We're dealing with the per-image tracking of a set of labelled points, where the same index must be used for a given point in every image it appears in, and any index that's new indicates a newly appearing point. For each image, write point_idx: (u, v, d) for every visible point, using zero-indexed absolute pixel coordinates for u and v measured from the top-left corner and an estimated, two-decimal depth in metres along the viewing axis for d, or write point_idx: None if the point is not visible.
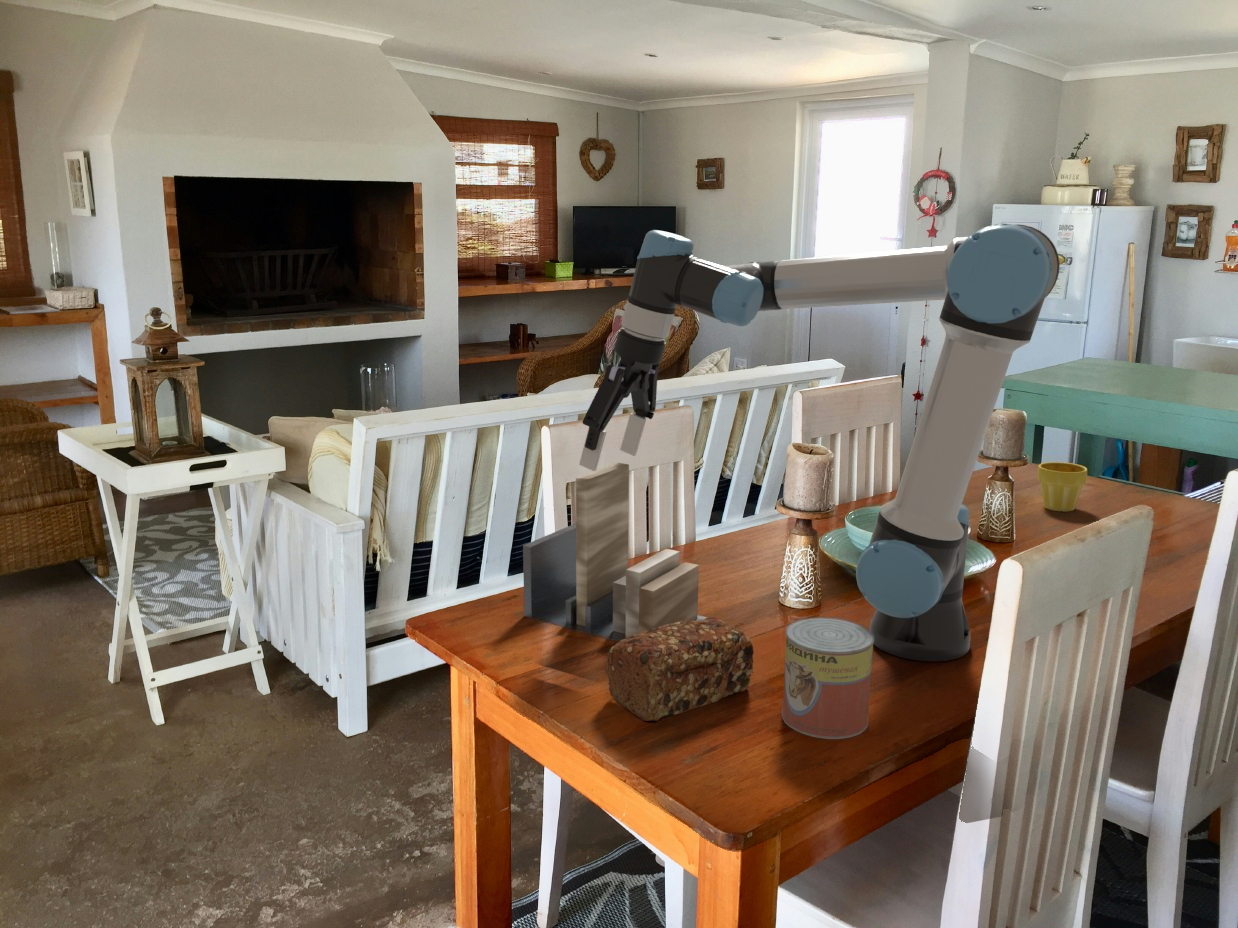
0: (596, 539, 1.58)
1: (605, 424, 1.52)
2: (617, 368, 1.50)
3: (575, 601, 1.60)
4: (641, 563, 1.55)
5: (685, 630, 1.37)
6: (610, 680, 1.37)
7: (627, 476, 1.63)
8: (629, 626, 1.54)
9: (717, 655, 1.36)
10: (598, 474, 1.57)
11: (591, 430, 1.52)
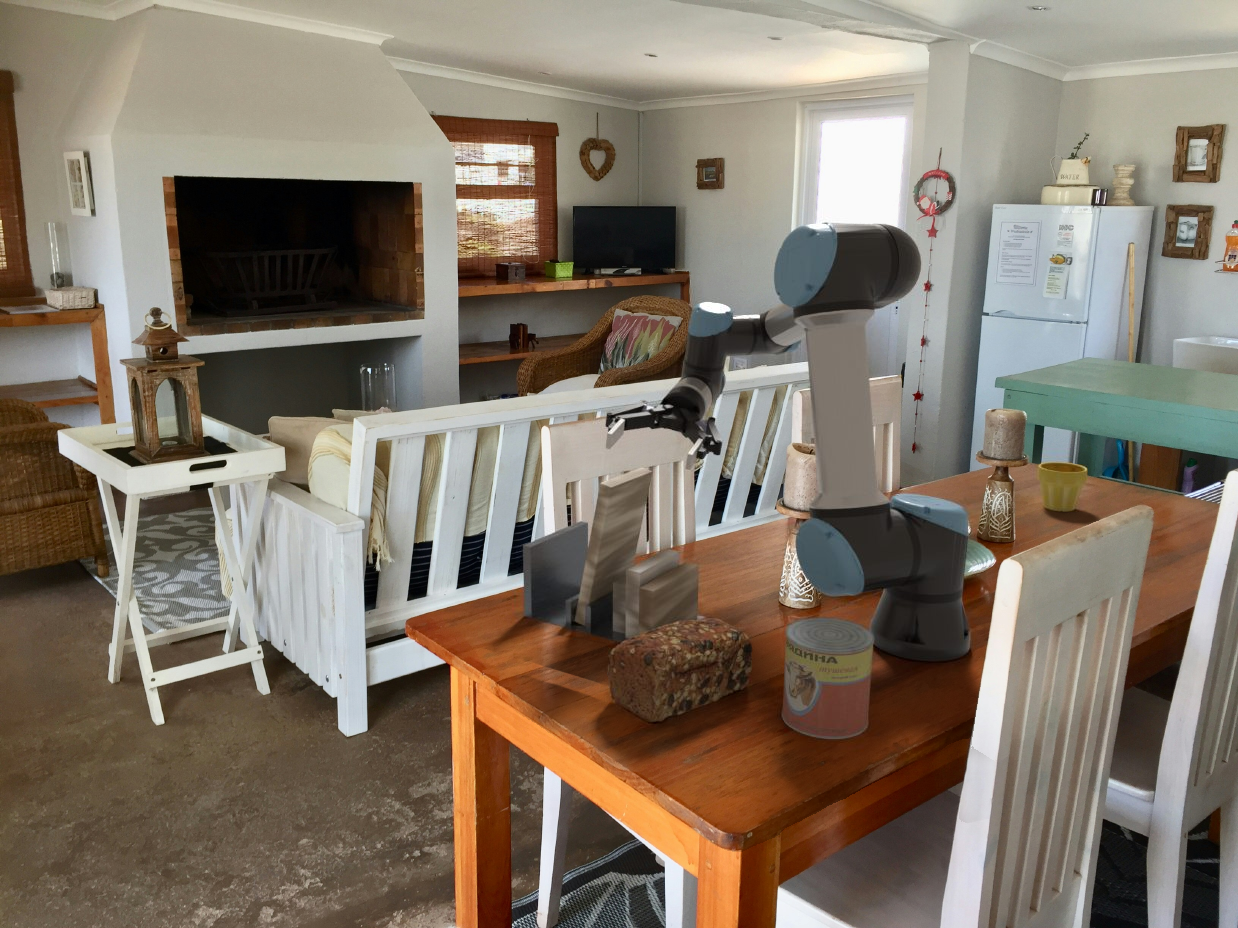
0: (609, 543, 1.57)
1: (623, 416, 1.69)
2: None
3: (575, 601, 1.60)
4: (641, 563, 1.55)
5: (685, 630, 1.37)
6: (611, 682, 1.37)
7: (648, 482, 1.61)
8: (629, 626, 1.54)
9: (718, 654, 1.36)
10: (622, 481, 1.54)
11: None
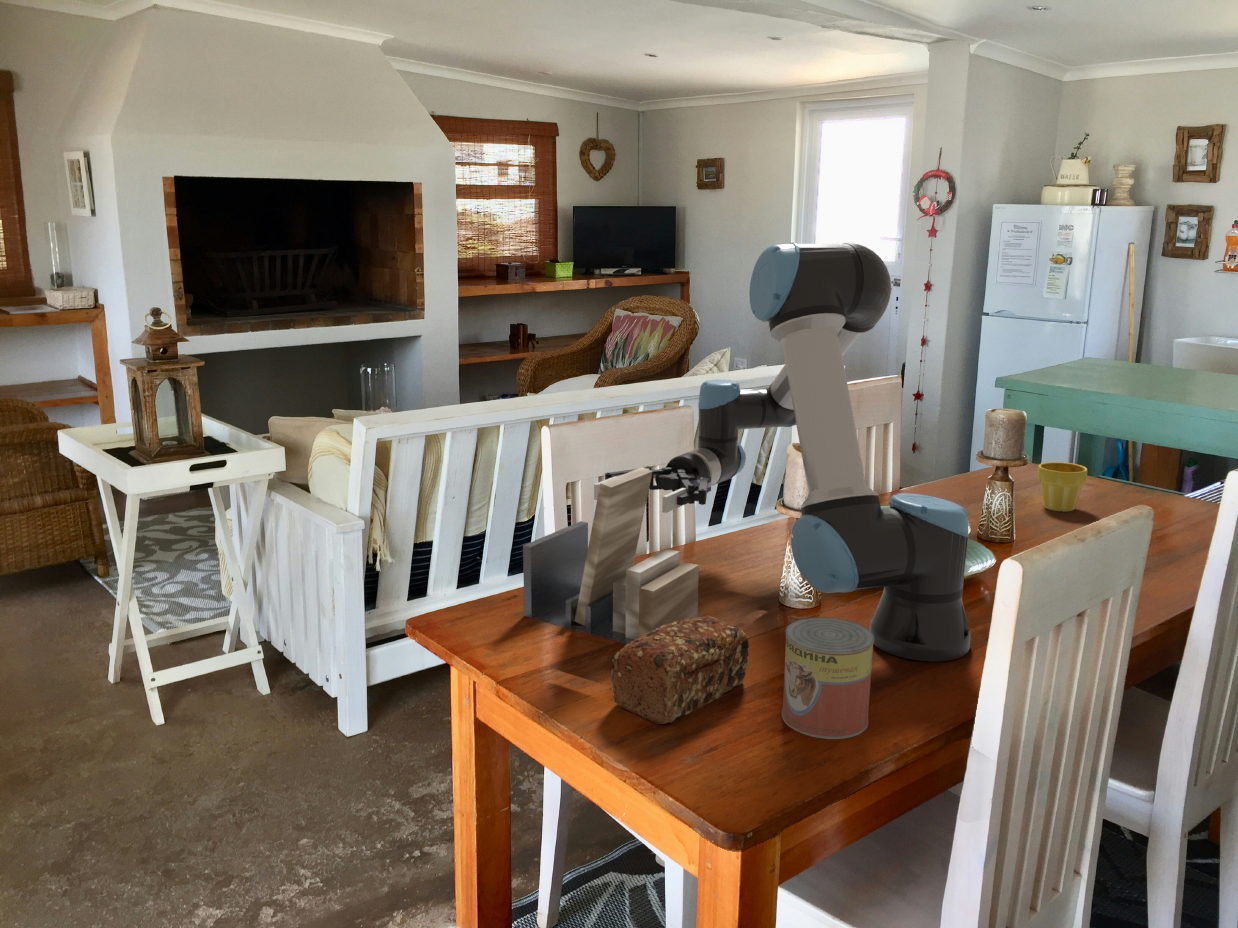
0: (609, 543, 1.57)
1: (618, 475, 1.77)
2: None
3: (575, 601, 1.60)
4: (641, 563, 1.55)
5: (686, 630, 1.38)
6: (615, 687, 1.36)
7: (648, 482, 1.61)
8: (629, 626, 1.54)
9: (721, 652, 1.37)
10: (622, 481, 1.54)
11: None
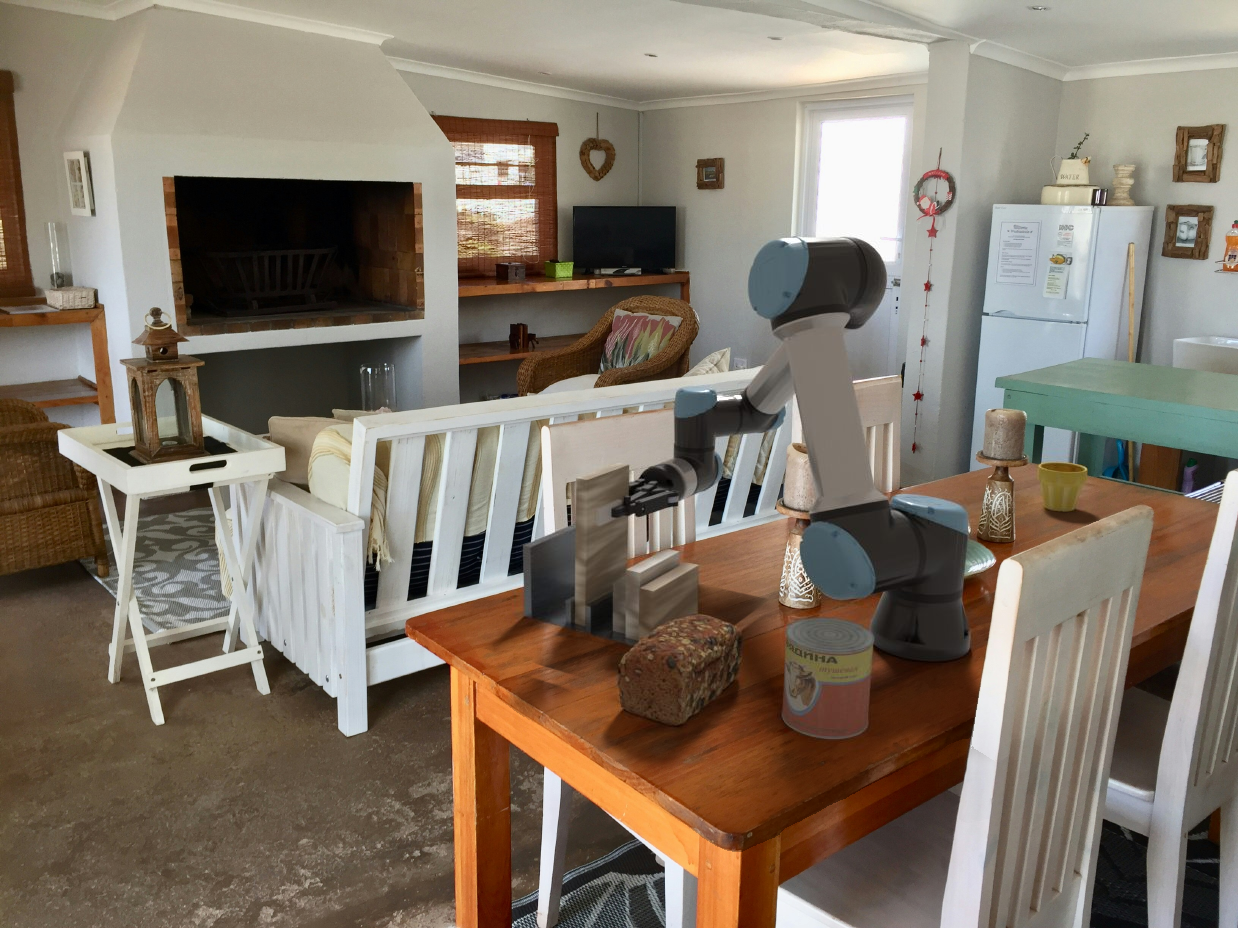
0: (595, 539, 1.58)
1: None
2: None
3: None
4: (641, 563, 1.55)
5: (687, 630, 1.38)
6: (622, 692, 1.34)
7: (627, 476, 1.63)
8: (629, 626, 1.54)
9: (722, 649, 1.38)
10: (598, 474, 1.57)
11: None
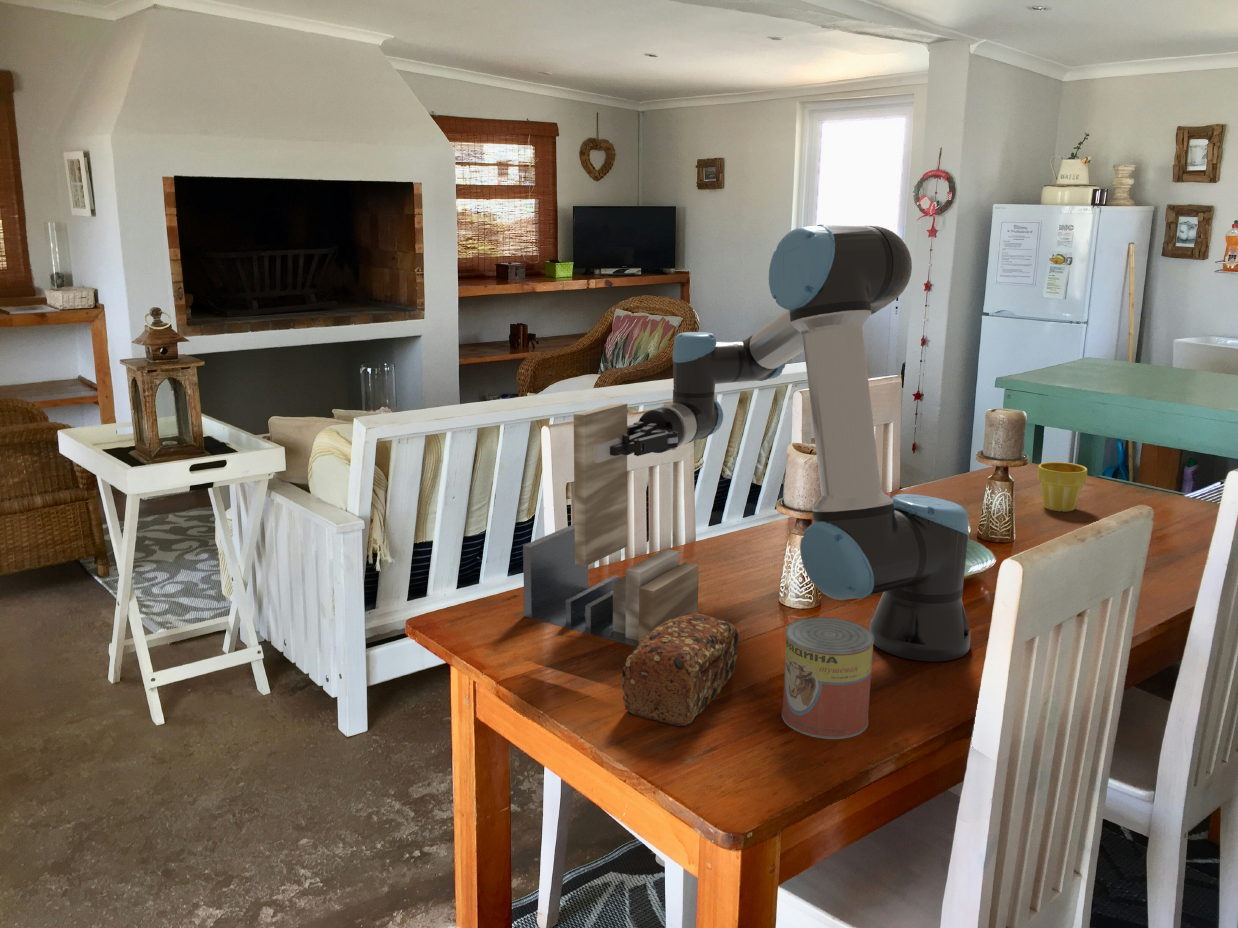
0: (594, 477, 1.56)
1: None
2: None
3: (575, 601, 1.60)
4: (641, 563, 1.55)
5: (687, 629, 1.38)
6: (627, 695, 1.33)
7: (625, 415, 1.61)
8: (629, 626, 1.54)
9: (723, 647, 1.38)
10: (596, 411, 1.55)
11: None
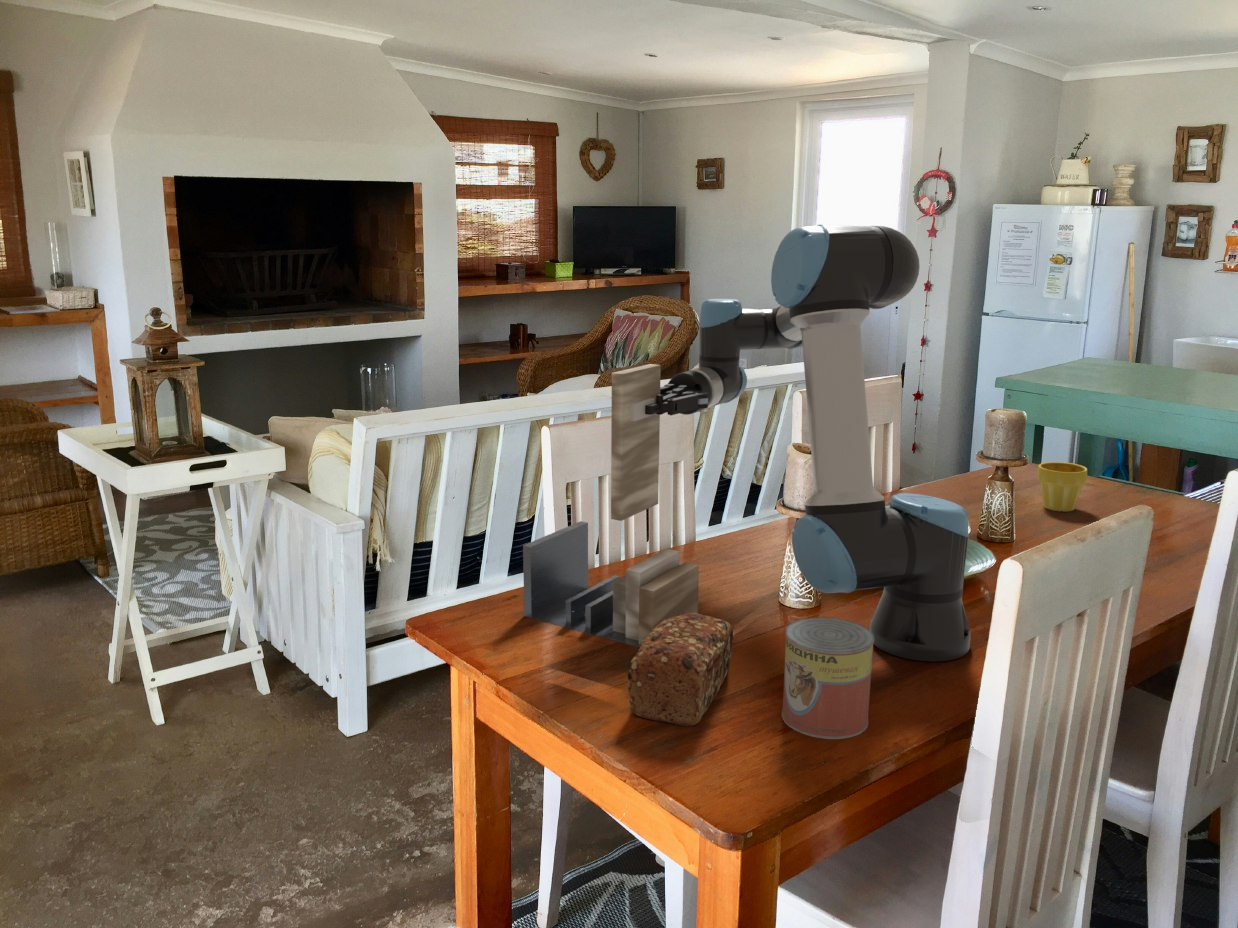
0: (630, 434, 1.62)
1: None
2: None
3: (575, 601, 1.60)
4: (641, 563, 1.55)
5: (688, 629, 1.38)
6: (633, 697, 1.33)
7: (659, 376, 1.67)
8: (629, 626, 1.54)
9: (723, 645, 1.39)
10: (633, 371, 1.61)
11: None
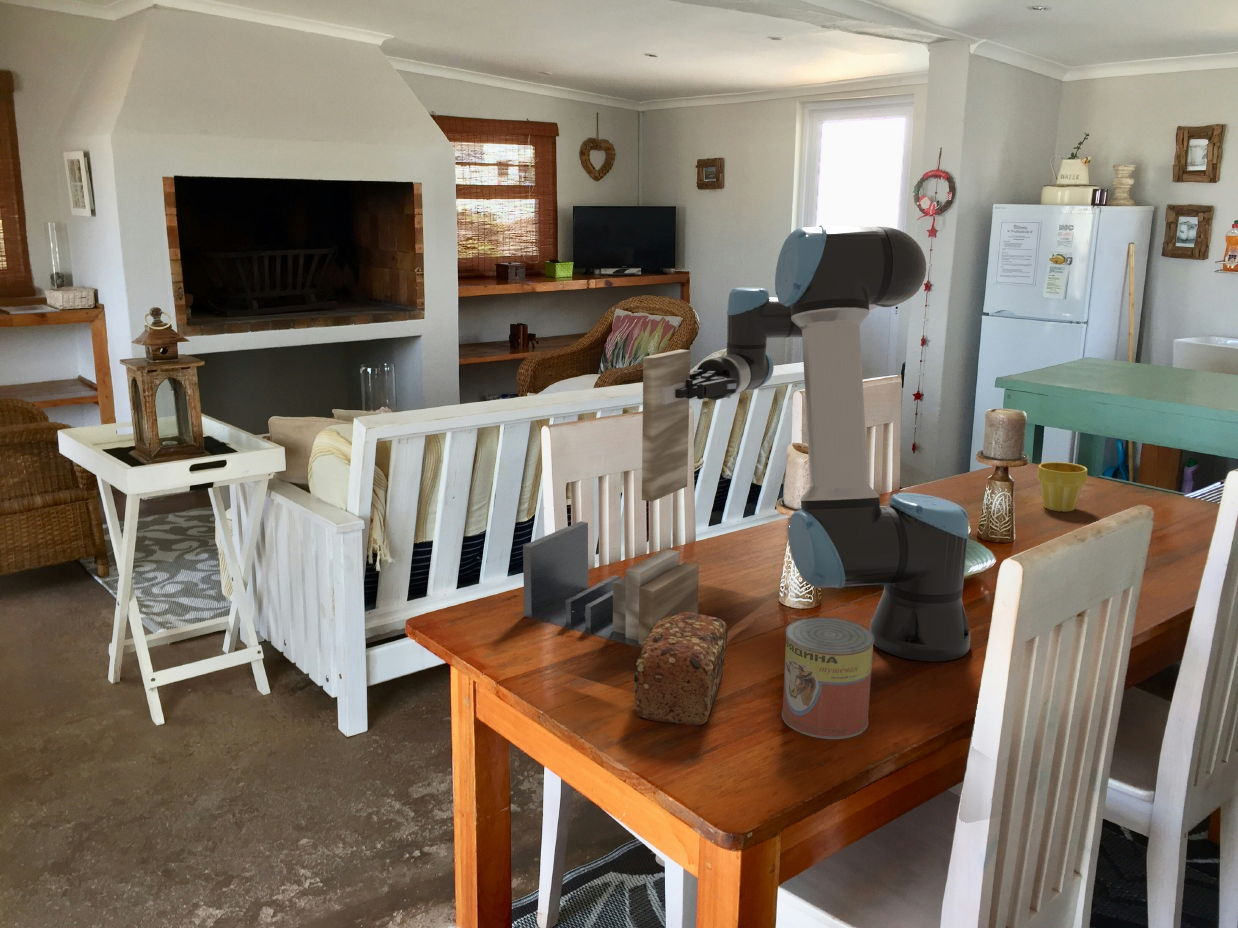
0: (661, 417, 1.66)
1: None
2: None
3: (575, 601, 1.60)
4: (641, 563, 1.55)
5: (688, 629, 1.38)
6: (640, 700, 1.32)
7: (688, 362, 1.72)
8: (629, 626, 1.54)
9: (722, 643, 1.39)
10: (663, 355, 1.65)
11: None
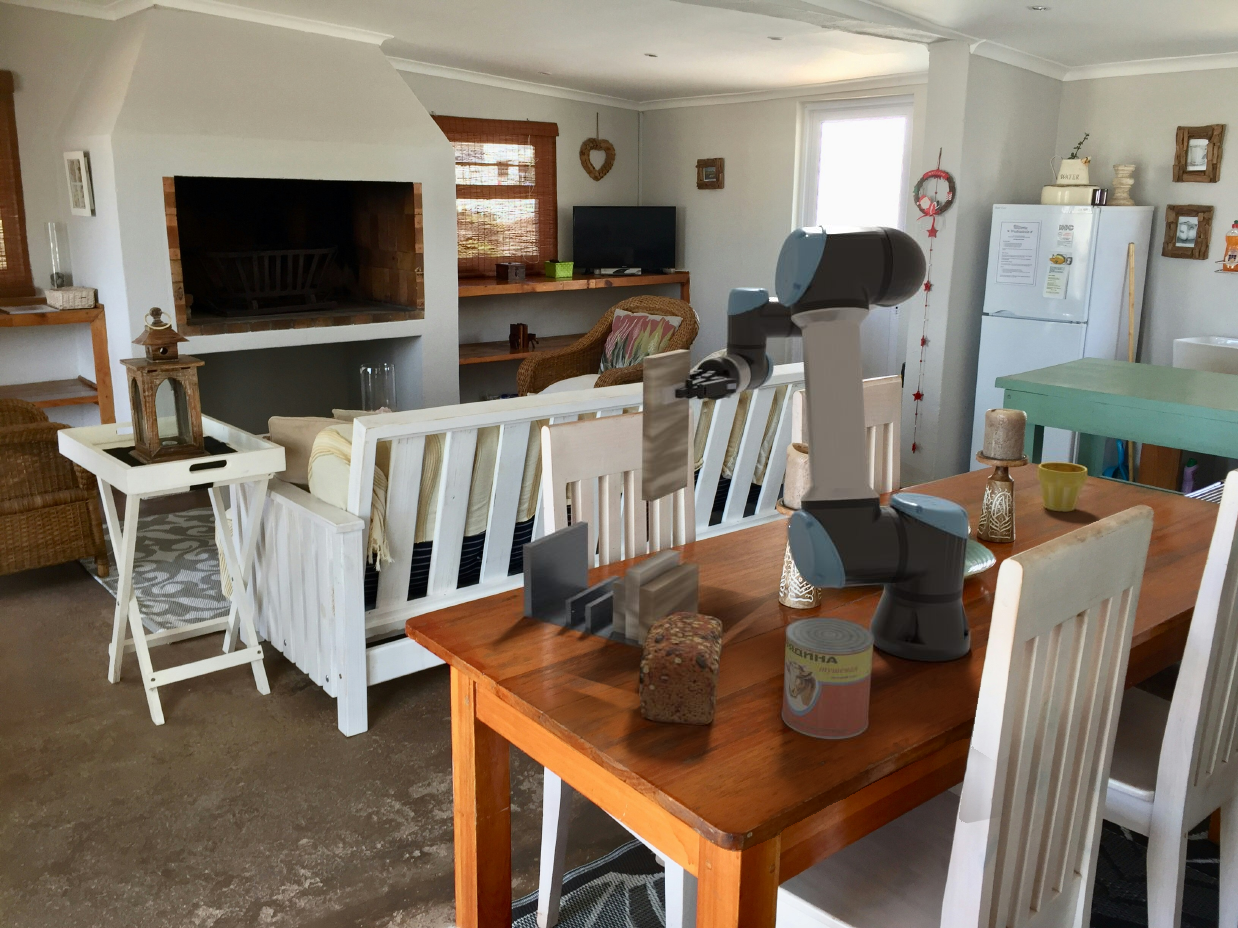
0: (661, 417, 1.66)
1: None
2: None
3: (575, 601, 1.60)
4: (641, 563, 1.55)
5: (688, 628, 1.38)
6: (646, 701, 1.31)
7: (688, 362, 1.72)
8: (629, 626, 1.54)
9: (721, 642, 1.40)
10: (663, 355, 1.65)
11: None
